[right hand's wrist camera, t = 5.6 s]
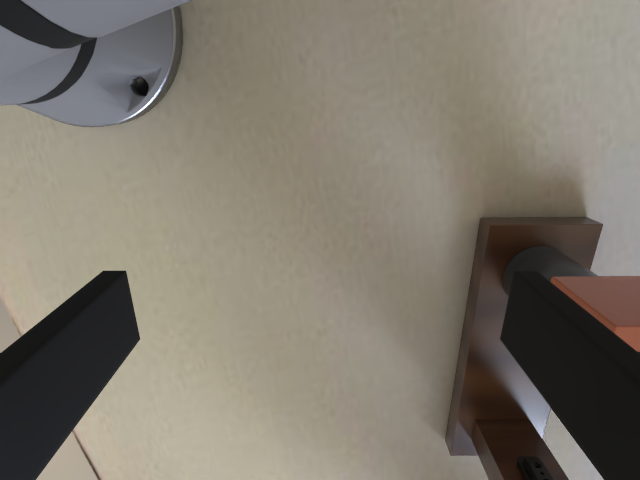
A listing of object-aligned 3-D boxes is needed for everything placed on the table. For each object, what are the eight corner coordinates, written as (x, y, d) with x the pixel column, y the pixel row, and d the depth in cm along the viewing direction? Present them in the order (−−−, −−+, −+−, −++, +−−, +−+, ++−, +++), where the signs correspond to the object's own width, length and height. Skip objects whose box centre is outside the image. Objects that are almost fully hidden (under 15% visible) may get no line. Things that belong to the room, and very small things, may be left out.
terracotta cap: (551, 275, 26) (616, 326, 20) (667, 275, 26) (765, 325, 20) (528, 369, 28) (579, 437, 23) (632, 369, 28) (709, 436, 23)
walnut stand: (480, 217, 35) (557, 276, 23) (588, 217, 35) (716, 275, 23) (445, 440, 45) (487, 556, 33) (528, 440, 45) (598, 555, 33)
